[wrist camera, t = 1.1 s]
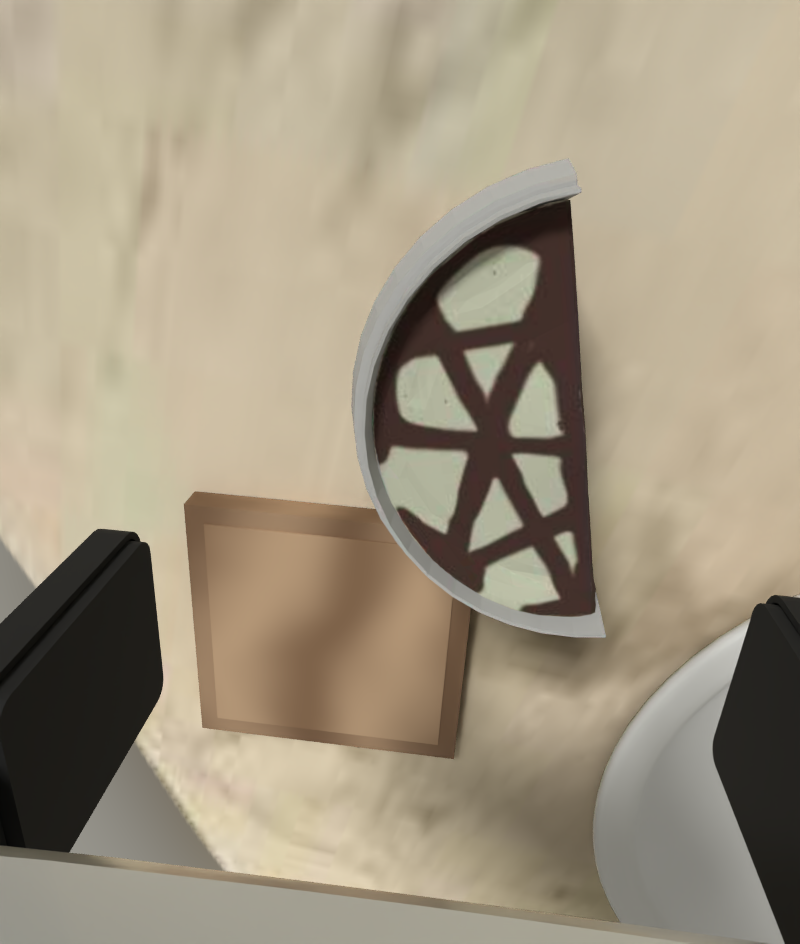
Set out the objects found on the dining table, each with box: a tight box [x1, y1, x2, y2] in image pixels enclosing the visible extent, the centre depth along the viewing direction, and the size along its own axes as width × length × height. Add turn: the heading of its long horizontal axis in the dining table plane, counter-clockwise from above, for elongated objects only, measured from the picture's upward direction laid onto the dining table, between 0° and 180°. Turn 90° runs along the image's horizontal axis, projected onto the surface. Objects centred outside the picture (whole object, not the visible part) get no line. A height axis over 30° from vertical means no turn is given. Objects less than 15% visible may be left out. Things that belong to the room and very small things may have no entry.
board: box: [184, 492, 471, 759], centre depth 31 cm, size 12×12×1 cm
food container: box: [352, 158, 606, 638], centre depth 22 cm, size 12×6×10 cm, turn 9°
